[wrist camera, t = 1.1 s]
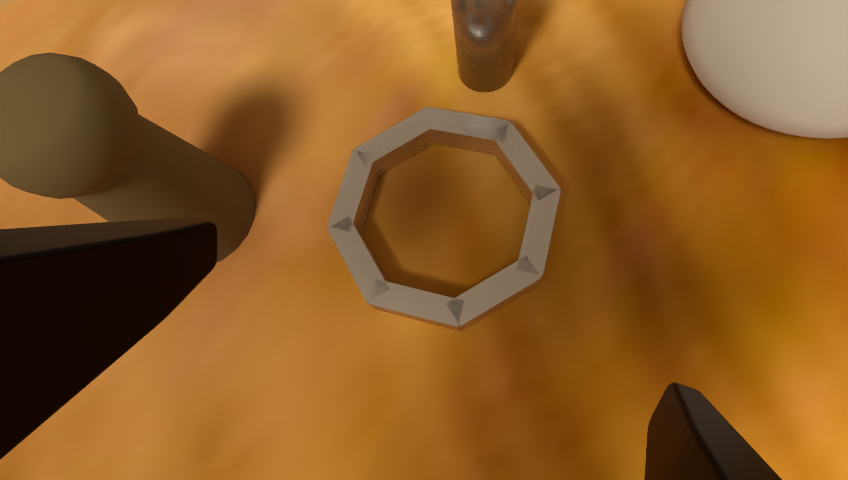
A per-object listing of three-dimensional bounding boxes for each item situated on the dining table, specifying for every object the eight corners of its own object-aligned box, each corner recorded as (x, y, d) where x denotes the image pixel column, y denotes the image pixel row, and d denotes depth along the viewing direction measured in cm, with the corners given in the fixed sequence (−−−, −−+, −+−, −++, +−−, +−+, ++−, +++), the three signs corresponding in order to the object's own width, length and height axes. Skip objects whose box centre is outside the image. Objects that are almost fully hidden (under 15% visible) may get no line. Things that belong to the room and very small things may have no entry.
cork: (129, 243, 27) (-103, 147, 16) (187, 149, 28) (6, 5, 18) (219, 285, 25) (26, 211, 15) (275, 184, 27) (134, 51, 16)
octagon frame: (526, 348, 22) (547, 321, 14) (317, 293, 24) (223, 241, 16) (587, 58, 26) (633, -102, 18) (403, 33, 28) (365, -122, 20)
